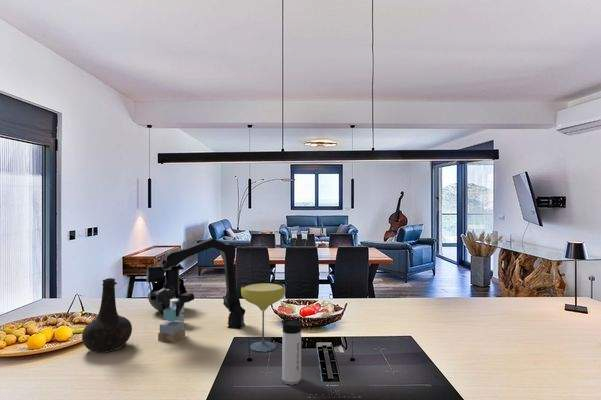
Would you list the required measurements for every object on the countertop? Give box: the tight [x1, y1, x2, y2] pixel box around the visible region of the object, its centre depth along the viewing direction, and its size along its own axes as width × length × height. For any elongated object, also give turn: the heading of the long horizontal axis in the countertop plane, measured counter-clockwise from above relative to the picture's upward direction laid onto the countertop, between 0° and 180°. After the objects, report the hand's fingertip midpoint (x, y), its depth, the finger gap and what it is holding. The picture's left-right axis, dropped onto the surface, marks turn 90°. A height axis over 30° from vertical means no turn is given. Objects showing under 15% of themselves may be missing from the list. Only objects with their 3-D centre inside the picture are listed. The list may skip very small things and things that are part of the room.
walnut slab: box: [157, 328, 186, 343], centre depth 159 cm, size 8×8×4 cm
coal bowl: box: [147, 275, 188, 313], centre depth 198 cm, size 20×20×19 cm
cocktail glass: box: [240, 281, 286, 353], centre depth 150 cm, size 18×18×25 cm
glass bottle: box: [81, 277, 133, 353], centre depth 148 cm, size 18×18×28 cm
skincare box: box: [170, 299, 185, 323], centre depth 177 cm, size 6×4×12 cm
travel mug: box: [281, 319, 302, 386], centre depth 122 cm, size 6×7×20 cm
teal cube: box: [163, 307, 180, 322], centre depth 160 cm, size 5×5×4 cm
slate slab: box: [159, 320, 185, 335], centre depth 159 cm, size 7×7×4 cm
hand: (172, 316), depth 160 cm, fingers closed on teal cube, 5 cm apart
